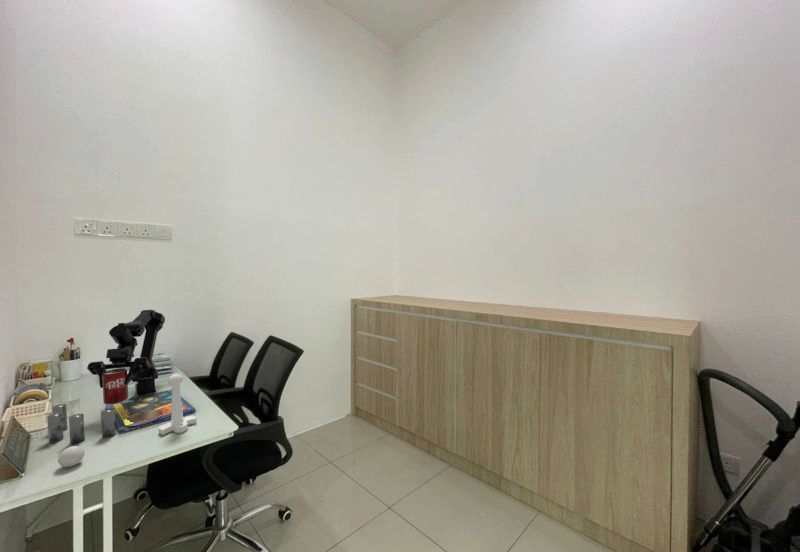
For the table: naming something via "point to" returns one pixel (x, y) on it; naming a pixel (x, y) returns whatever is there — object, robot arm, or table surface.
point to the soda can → (114, 386)
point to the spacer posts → (76, 425)
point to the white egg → (71, 456)
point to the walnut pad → (145, 415)
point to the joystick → (176, 409)
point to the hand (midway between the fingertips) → (113, 385)
